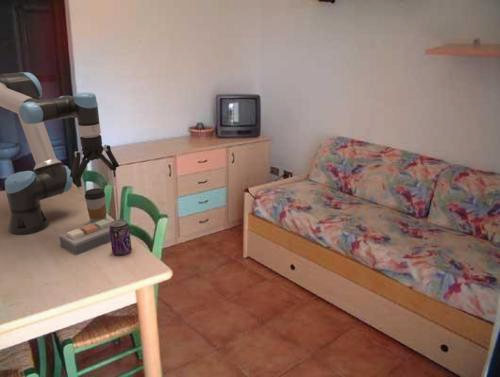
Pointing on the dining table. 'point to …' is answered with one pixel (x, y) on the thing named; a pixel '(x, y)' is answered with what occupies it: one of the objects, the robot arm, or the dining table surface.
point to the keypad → (85, 240)
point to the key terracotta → (89, 229)
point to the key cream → (75, 234)
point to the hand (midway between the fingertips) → (97, 189)
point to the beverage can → (120, 237)
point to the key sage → (102, 224)
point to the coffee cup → (96, 204)
